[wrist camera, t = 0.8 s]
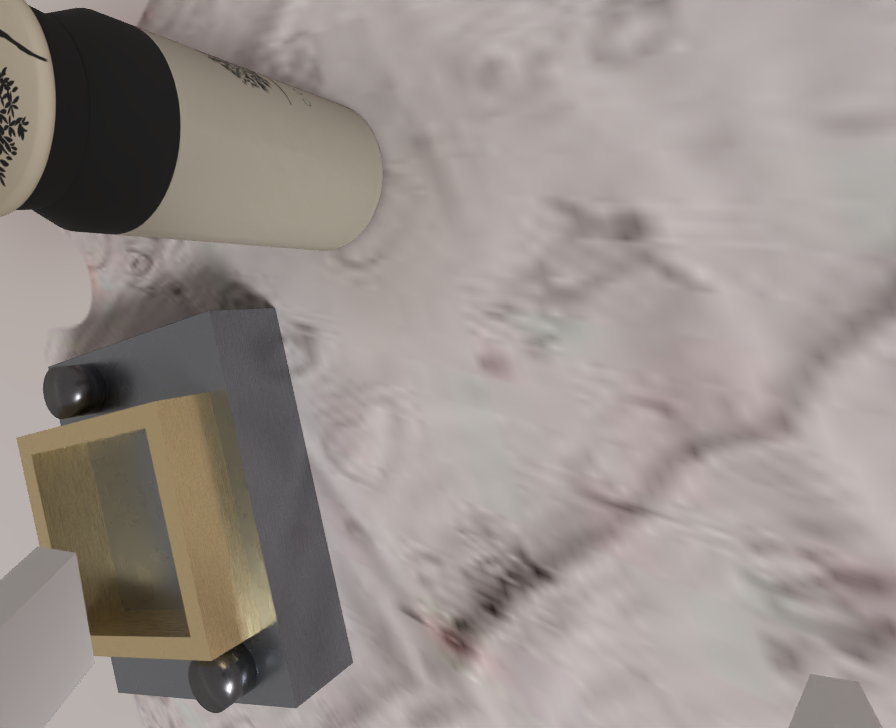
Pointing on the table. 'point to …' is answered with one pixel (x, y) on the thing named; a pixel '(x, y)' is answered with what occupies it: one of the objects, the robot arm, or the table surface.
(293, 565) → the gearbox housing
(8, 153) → the travel mug
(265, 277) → the table surface
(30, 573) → the robot arm
